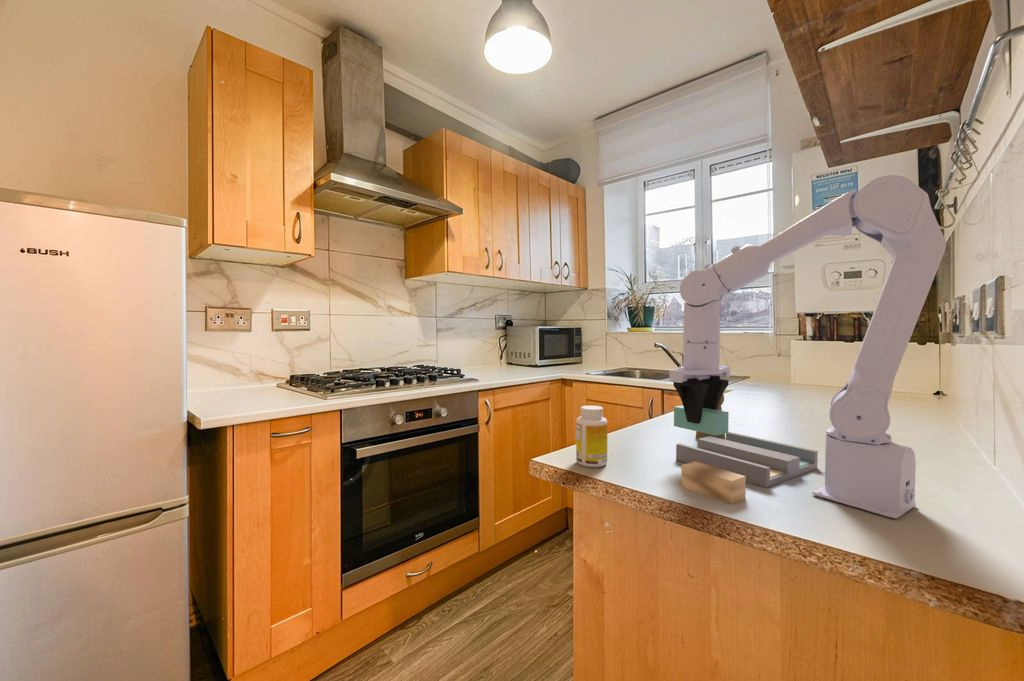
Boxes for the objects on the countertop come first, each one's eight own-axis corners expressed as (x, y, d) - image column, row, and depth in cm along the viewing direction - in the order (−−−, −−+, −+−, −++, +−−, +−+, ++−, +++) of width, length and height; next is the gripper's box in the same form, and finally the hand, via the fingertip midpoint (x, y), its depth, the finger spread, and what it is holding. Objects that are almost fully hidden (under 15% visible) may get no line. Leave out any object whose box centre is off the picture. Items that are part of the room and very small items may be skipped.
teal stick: (728, 432, 70) (728, 411, 70) (716, 435, 68) (716, 414, 68) (685, 423, 77) (686, 404, 77) (673, 426, 75) (674, 406, 75)
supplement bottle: (613, 463, 76) (613, 407, 75) (595, 470, 72) (595, 411, 72) (588, 456, 80) (588, 403, 79) (569, 463, 76) (569, 407, 76)
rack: (817, 467, 73) (817, 450, 73) (766, 487, 64) (766, 468, 64) (728, 446, 87) (728, 431, 87) (676, 459, 78) (676, 443, 78)
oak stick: (745, 500, 60) (745, 476, 60) (731, 506, 58) (731, 481, 58) (695, 482, 67) (695, 461, 67) (681, 487, 65) (681, 465, 65)
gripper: (704, 341, 80) (704, 412, 80) (654, 343, 72) (654, 421, 72) (741, 342, 74) (741, 419, 74) (691, 344, 66) (690, 430, 66)
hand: (700, 421), depth 73 cm, fingers closed on teal stick, 3 cm apart
